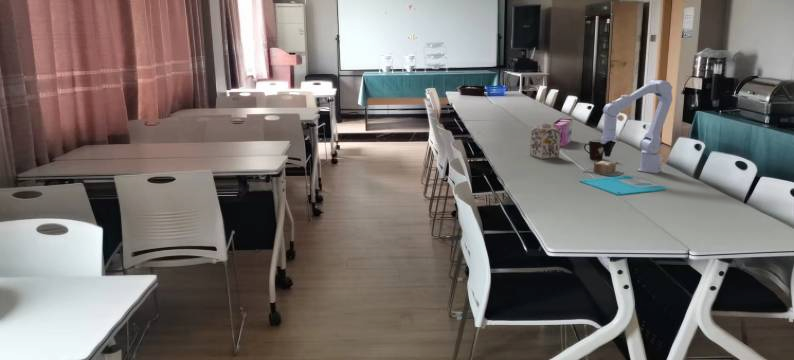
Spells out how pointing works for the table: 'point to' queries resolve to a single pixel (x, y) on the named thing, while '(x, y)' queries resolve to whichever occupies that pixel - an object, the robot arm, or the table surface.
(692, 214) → the table surface
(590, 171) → the slate mat
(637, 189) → the diskette
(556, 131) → the decorative jar
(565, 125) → the gum box
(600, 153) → the coffee mug
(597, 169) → the cardboard box
